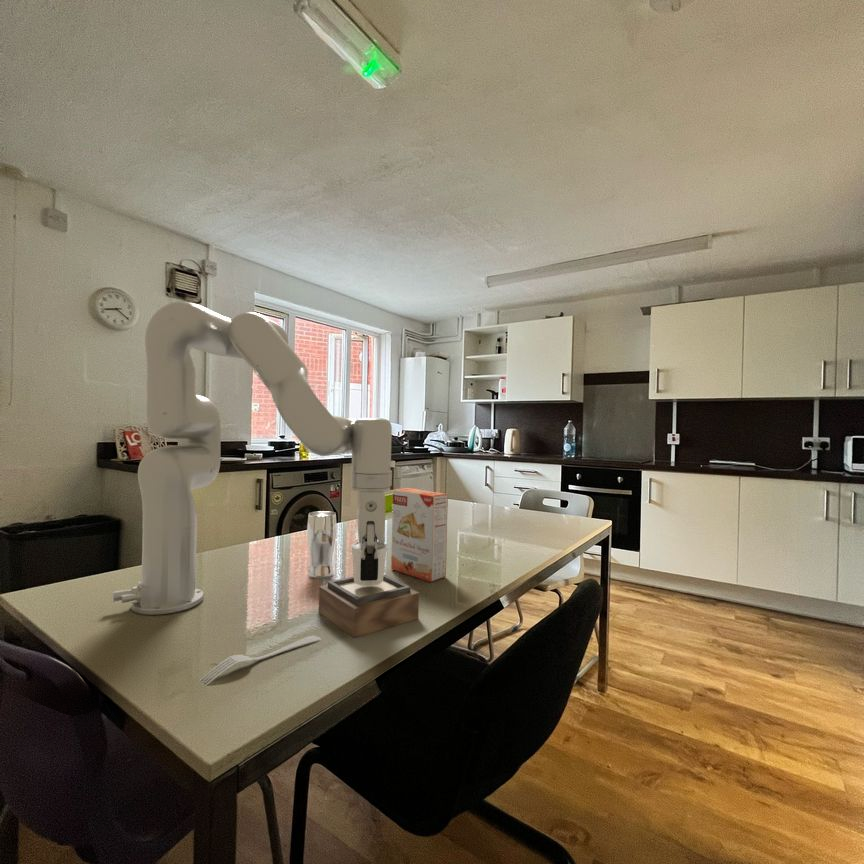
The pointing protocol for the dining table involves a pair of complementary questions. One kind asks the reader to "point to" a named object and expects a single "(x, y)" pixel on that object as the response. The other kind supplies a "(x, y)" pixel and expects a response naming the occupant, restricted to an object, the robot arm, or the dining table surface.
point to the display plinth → (368, 605)
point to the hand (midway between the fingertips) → (368, 573)
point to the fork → (241, 658)
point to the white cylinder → (357, 563)
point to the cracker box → (419, 533)
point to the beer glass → (321, 543)
